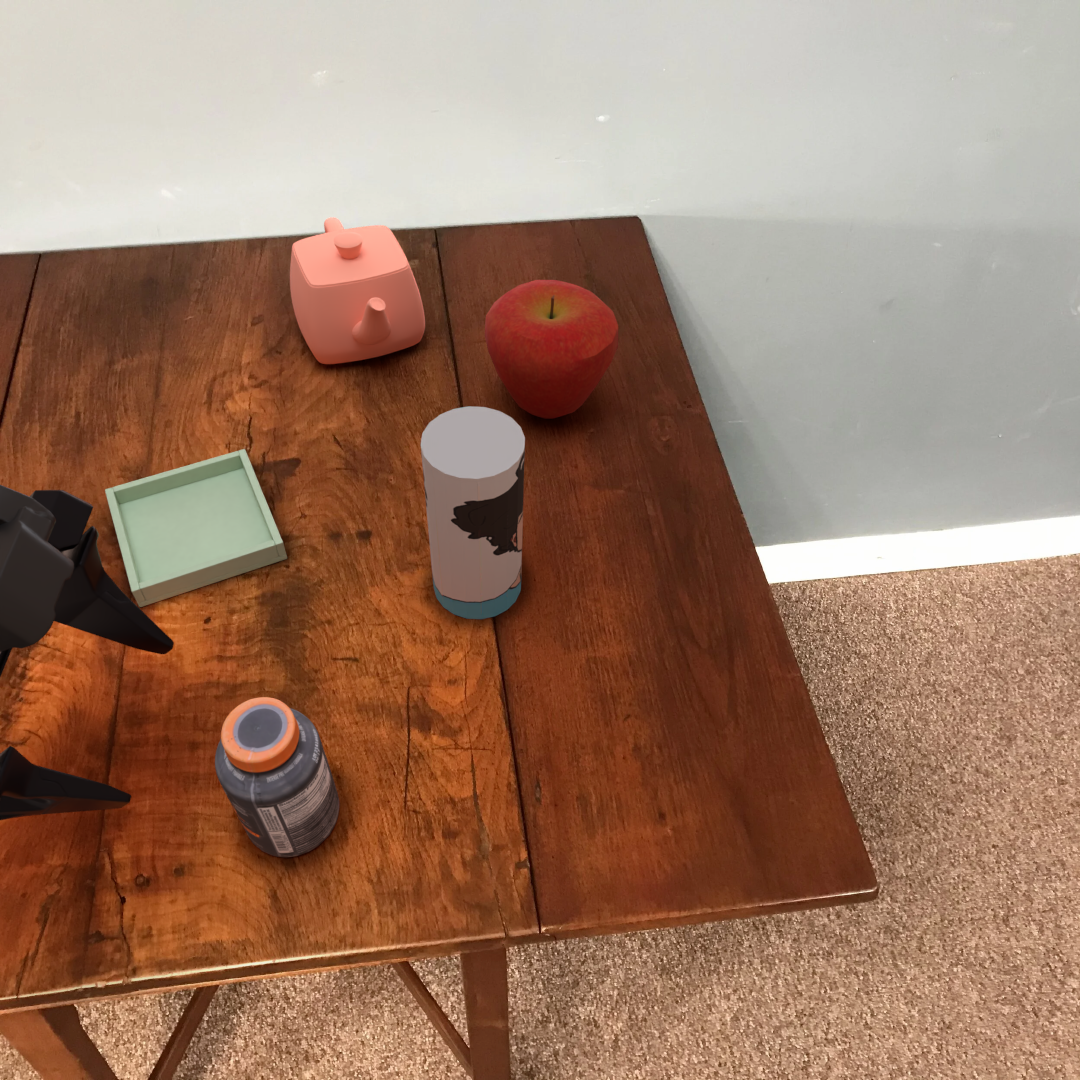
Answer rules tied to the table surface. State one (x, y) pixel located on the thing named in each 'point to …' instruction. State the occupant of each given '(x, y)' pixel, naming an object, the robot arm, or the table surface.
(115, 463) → the table surface
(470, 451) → the white cylindrical canister
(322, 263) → the teapot
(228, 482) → the dish
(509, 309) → the apple
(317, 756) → the pill bottle
